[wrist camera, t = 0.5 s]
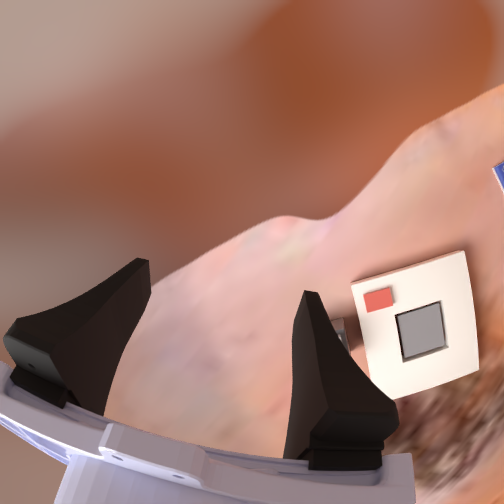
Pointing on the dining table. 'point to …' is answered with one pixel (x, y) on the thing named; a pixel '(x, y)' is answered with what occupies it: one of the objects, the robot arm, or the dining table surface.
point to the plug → (341, 332)
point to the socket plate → (410, 297)
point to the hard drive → (499, 174)
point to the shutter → (421, 330)
